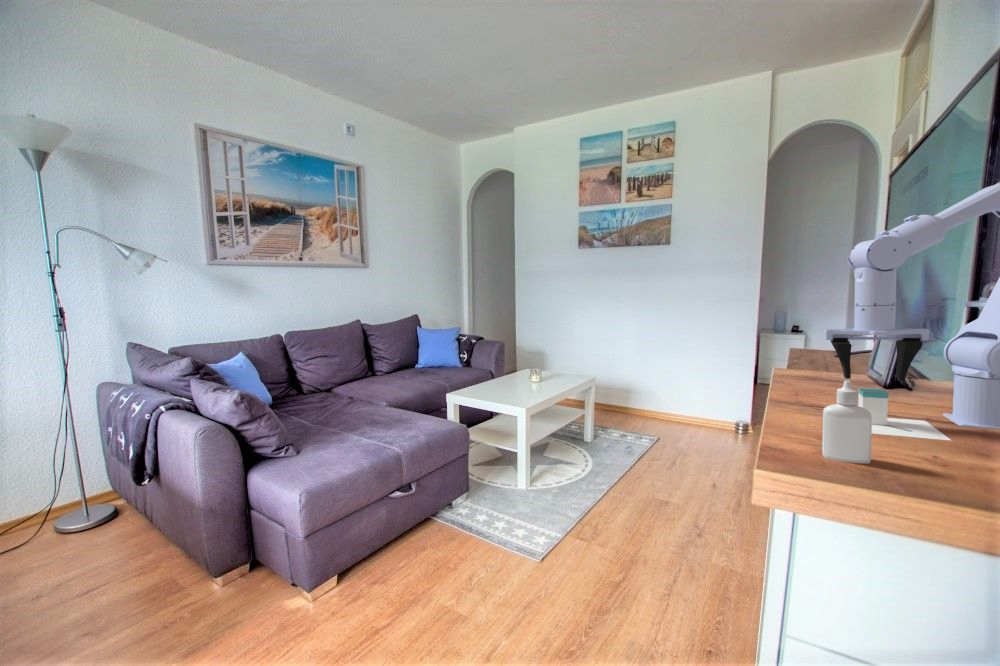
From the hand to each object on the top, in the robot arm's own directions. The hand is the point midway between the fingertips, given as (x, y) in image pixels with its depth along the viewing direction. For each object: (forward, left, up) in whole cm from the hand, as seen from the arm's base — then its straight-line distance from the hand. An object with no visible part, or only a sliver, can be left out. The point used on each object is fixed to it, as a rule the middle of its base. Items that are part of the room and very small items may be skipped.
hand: (873, 378), depth 81 cm
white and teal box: (0, 0, -8) cm, 8 cm away
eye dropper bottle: (+8, +23, -9) cm, 26 cm away
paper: (-2, +2, -9) cm, 9 cm away
